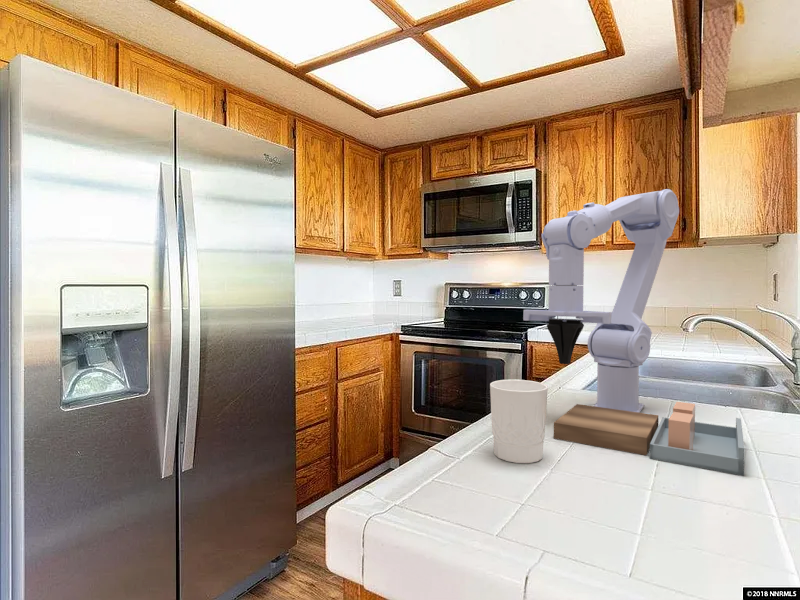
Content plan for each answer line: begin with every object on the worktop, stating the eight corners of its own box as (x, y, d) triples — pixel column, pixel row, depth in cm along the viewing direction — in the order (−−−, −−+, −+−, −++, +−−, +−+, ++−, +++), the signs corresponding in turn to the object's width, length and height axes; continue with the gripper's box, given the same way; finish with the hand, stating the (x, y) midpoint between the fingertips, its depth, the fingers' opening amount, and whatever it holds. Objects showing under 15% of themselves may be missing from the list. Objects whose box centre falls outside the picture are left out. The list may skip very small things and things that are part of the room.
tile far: (676, 401, 74) (695, 403, 72) (676, 432, 74) (694, 435, 73) (673, 408, 70) (692, 410, 68) (672, 441, 70) (691, 444, 69)
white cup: (482, 459, 64) (482, 387, 64) (498, 442, 71) (498, 377, 71) (541, 469, 60) (541, 393, 60) (551, 450, 67) (552, 382, 67)
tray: (662, 429, 77) (662, 408, 77) (740, 441, 71) (740, 418, 71) (649, 458, 64) (649, 433, 64) (743, 476, 58) (744, 448, 58)
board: (576, 417, 84) (577, 404, 84) (658, 430, 77) (658, 415, 77) (553, 438, 73) (553, 422, 73) (646, 455, 65) (646, 437, 65)
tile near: (673, 411, 68) (693, 414, 66) (673, 445, 68) (693, 449, 67) (668, 419, 64) (689, 422, 62) (668, 455, 64) (689, 459, 63)
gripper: (517, 285, 82) (516, 362, 82) (605, 285, 73) (604, 370, 74) (531, 285, 87) (530, 357, 88) (614, 285, 79) (613, 364, 79)
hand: (565, 363), depth 81 cm, fingers closed
